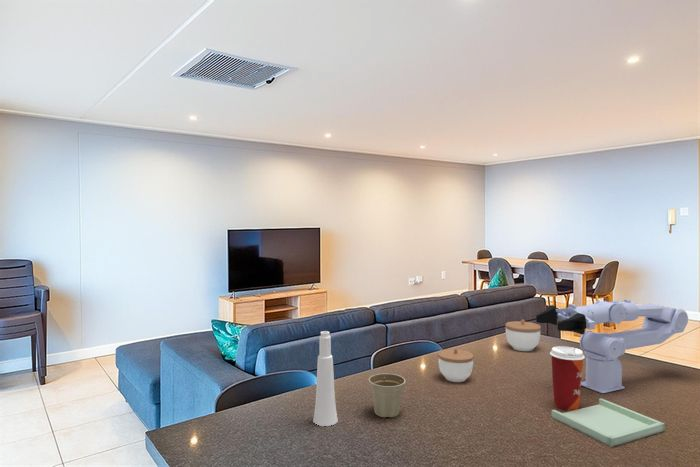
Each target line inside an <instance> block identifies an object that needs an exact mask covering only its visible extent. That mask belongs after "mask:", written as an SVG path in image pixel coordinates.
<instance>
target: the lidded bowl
mask: <svg viewBox="0 0 700 467" xmlns="http://www.w3.org/2000/svg"><path fill="white" fill-rule="evenodd" d="M504 325H505V326H504V327H505V336H506V340H507V342H508V344H509V346H511V347H512V349H513V350H515V351H519V352H531V351H533V350H534V349H535V348H536V347H537V346H538V344H539V342H540V339H541V330H542V326H541V325H540V324H539V323H538V324H537V323H535V322H530V321H526V320H525V319H520V320H519V321H518V320H516V321H514V320H513V321H507V322H505V324H504Z"/></svg>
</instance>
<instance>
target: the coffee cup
mask: <svg viewBox="0 0 700 467" xmlns="http://www.w3.org/2000/svg"><path fill="white" fill-rule="evenodd" d="M549 355H550V356H551V374H552V393H553V394H552V396H553V405H554V406H555V407H556V408H557V409H559V410H562V411H565V412H569V411H574V410H578V409H580V404H581V395H582V394H581V392H582V385H581V382H583V380H582V379H583V366H584V359H586V355H585V354H584V351H583V350H582V349H581V348H576V347H572V346H565V345H563V346H562V345H559V346H553V347H552V348H551V351H549Z"/></svg>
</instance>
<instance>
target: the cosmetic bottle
mask: <svg viewBox="0 0 700 467" xmlns="http://www.w3.org/2000/svg"><path fill="white" fill-rule="evenodd" d="M318 339H319V342H318V344H319V348H318V349H319V355H317V361H316V362H317V365H316V366H317V367H316V369H317V370H316V388H315V389H316V390H315V391H316V393H315V406H314V412H313V419H312V421H313V424H314V423H315V424H314V425H316V424H317V425H316V426H318V425H319V427H324V426H326V427H332V426H334V425H336V424H337V423H338V422H339V418H338V413H337V406H336V394H335V376H334V375H335V374H334V373H335V372H334V360H333V357H334V356H333V355H332V347H331V346H332V342H331V341H332V340H331V339H332V337H331V335H330V331H328V330H322V331H320V335H319V337H318ZM331 425H332V426H331Z"/></svg>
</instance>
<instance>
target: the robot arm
mask: <svg viewBox="0 0 700 467" xmlns="http://www.w3.org/2000/svg"><path fill="white" fill-rule="evenodd" d="M640 317H641V318H642V317H644V319H643V322H642V323H643V324H642V327H641V328H636V329H630V330H623V331H617V332H616V331H615V332H611V333H608V332H593V331H592V330H595V329H596V328H595V327H596V325H600V324H606V323H612V324H617V325H619V324H621V323H622V322H632V321H637V320H638V318H640ZM536 323H538V324H550V325H554V326H557V331H561V332H569V333H570V332H571V333H576V334H578V335H579V334H580V338H579V347H580V350H582V352H583V355H584V356H585V381H582V382H581V387H585V388H587V389H590V390H592V391H595V392H597V393H600V394H607V393H611V392H615V391H619V390H620V391H621V390H624V389H625V386H623V384H622V383H623V382H622V381H623V378H622V377H623V373H622V372H623V367H622V362H621V360H620V359H619V357H620V356H622V355H625V353H626V350H631V349H637V348H643V347H649V346H655V345H660V344H662V343H664V342H666V341H667V340H668V339H669V338H672V336H674V335H676V334H680V333H684V331H685V329H686V327H687V325H688V323H689V316H688V313H687V311H685V310H684V309H682V308H674V307H669V306H664V305H659V304H653V303H646V304H637V303H635V302H633V301H631V300H630V299H623V301H618V300H613V299H612V300H611V301H607V300H606V301H605V300H596V301H595V302H594V303H592V304H588V305H587V304H586V305H579V306H577V305H575V304H573V303H569V304H568V307H562V308H557V306H556V305H553V304H551V305H549V306H547V308H546V309H545V310H543V311H542V312H541V313H538V314H537V315H536ZM586 329H587V330H586Z"/></svg>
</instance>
